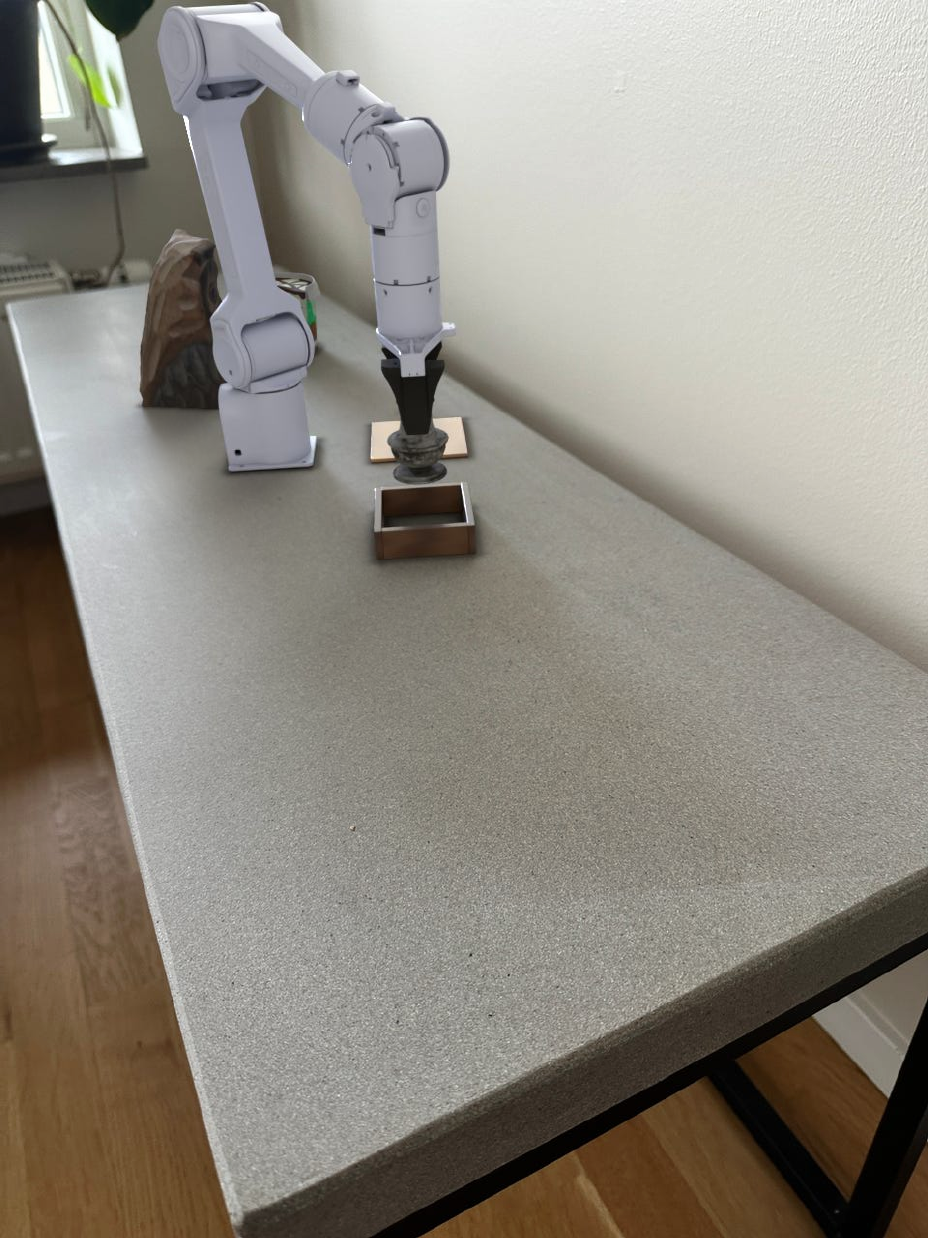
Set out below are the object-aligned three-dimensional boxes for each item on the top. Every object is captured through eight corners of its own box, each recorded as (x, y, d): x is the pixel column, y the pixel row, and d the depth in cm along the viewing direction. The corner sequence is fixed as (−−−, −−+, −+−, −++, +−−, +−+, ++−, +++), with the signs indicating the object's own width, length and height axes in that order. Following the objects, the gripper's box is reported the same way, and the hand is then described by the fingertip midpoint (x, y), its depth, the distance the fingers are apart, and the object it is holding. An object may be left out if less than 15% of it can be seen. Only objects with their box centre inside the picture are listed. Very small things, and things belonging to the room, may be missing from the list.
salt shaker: (442, 487, 90) (436, 362, 84) (382, 484, 92) (371, 360, 85) (456, 461, 95) (450, 341, 89) (398, 458, 96) (389, 339, 90)
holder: (376, 560, 90) (373, 531, 89) (377, 514, 98) (374, 487, 97) (476, 553, 91) (475, 525, 89) (468, 508, 99) (467, 481, 97)
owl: (197, 374, 136) (168, 224, 125) (271, 384, 131) (248, 230, 120) (137, 405, 127) (100, 246, 116) (215, 417, 122) (183, 253, 111)
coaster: (371, 462, 109) (370, 459, 109) (372, 425, 118) (371, 422, 118) (467, 456, 109) (467, 453, 109) (461, 419, 118) (461, 416, 118)
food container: (343, 345, 145) (336, 276, 139) (317, 357, 140) (308, 287, 135) (281, 334, 150) (272, 268, 145) (254, 345, 146) (243, 277, 141)
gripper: (458, 297, 77) (464, 454, 85) (448, 254, 89) (454, 394, 97) (370, 302, 77) (384, 458, 84) (372, 258, 89) (384, 399, 97)
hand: (416, 425), depth 91 cm, fingers closed on salt shaker, 3 cm apart
